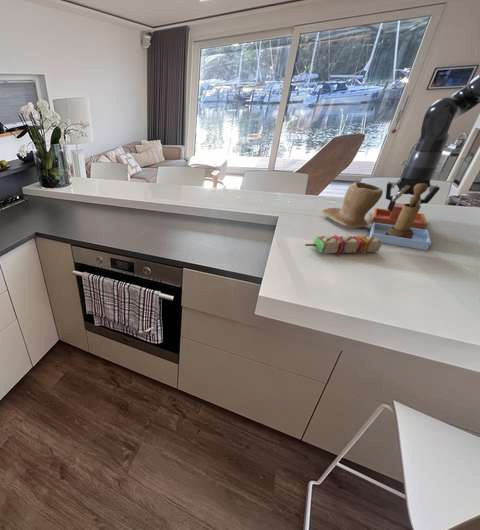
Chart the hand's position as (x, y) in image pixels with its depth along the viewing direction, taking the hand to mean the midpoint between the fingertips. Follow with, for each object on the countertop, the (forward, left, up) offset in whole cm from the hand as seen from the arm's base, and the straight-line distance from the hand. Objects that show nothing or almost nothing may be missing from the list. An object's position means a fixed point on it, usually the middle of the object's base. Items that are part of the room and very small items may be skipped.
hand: (400, 211), depth 105 cm
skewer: (+14, +36, -4) cm, 39 cm away
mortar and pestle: (0, +17, -4) cm, 17 cm away
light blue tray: (0, +17, -4) cm, 17 cm away
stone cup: (+14, +8, -4) cm, 17 cm away
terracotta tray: (0, 0, -4) cm, 4 cm away
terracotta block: (0, 0, -3) cm, 3 cm away
